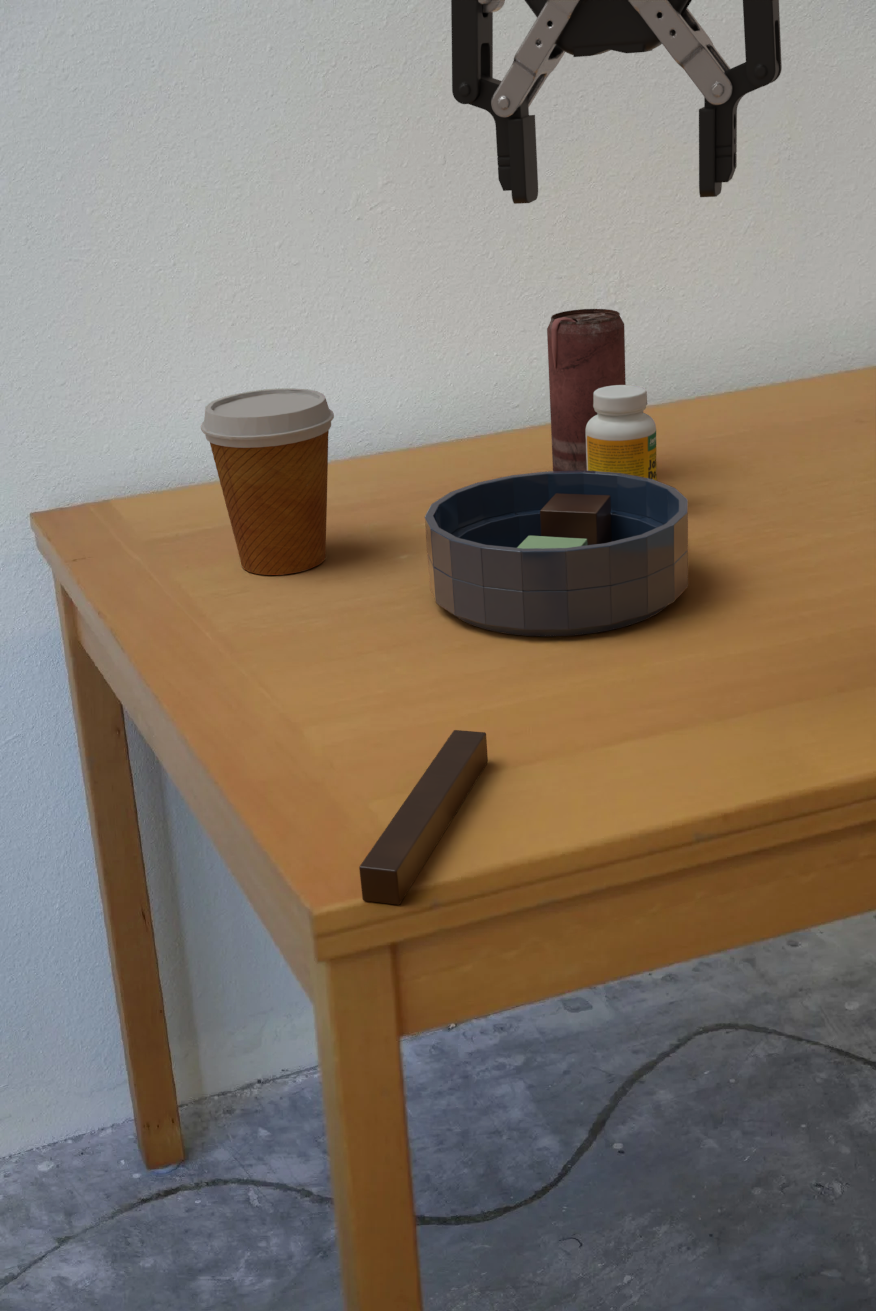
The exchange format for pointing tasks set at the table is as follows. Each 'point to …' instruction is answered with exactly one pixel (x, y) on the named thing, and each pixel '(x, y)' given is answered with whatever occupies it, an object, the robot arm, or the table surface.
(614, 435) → the supplement bottle
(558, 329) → the can
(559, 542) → the green block
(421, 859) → the stick
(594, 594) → the bowl
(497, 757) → the table surface
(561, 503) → the walnut block
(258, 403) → the disposable coffee cup
